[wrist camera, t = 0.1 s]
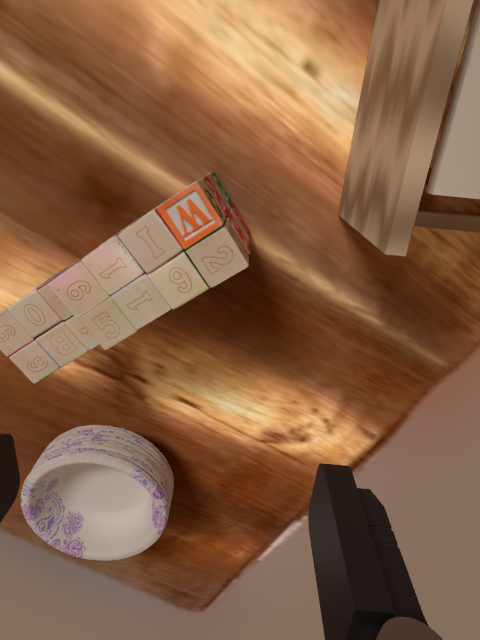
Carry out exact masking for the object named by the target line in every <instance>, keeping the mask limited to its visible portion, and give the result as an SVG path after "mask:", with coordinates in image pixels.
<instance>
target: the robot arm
mask: <svg viewBox="0 0 480 640" xmlns="http://www.w3.org/2000/svg"><path fill="white" fill-rule="evenodd" d="M19 485H20V475H19V469H18V464H17V458H16V452H15V446H14V440H13V437H12V436H11V435H10V434H5V433H0V522H1V521H2V519H3V518H4V516H5V515H6V513H7V512H8V510H9V509H10V507H11V506H12V504H13V503H14V501H15V499H16V496H17V493H18V490H19ZM309 533H310V540H311V547H312V554H313V561H314V568H315V574H316V581H317V588H318V594H319V601H320V608H321V615H322V622H323V629H324V635H325V640H443V639H442V638H441V637H440V636H439V635H438V634H437V633H436V632H435V631H434V630H432V629H431V628H430V627H429V625H428V624H427V622H426V620H425V617H424V615H423V613H422V610H421V607H420V605H419V602H418V599H417V596H416V593H415V591H414V588H413V585H412V582H411V580H410V577H409V574H408V571H407V569H406V566H405V563H404V561H403V558H402V555H401V552H400V549H399V548H398V547H397V541H396V539H395V536H394V533H393V531H392V530H391V524H390V522H389V519H388V516H387V513H386V511H385V508H384V506H383V505H382V504H381V503H380V501H379V500H378V499H377V498H376V496H375V495H374V494H373V493H372V491H371V490H370V489H359V488H357V487H356V484H355V480H354V477H353V474H352V471H351V468H350V467H349V466H343V465H332V464H320V465H319V467H318V470H317V474H316V479H315V483H314V488H313V492H312V497H311V501H310V506H309Z"/></svg>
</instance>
